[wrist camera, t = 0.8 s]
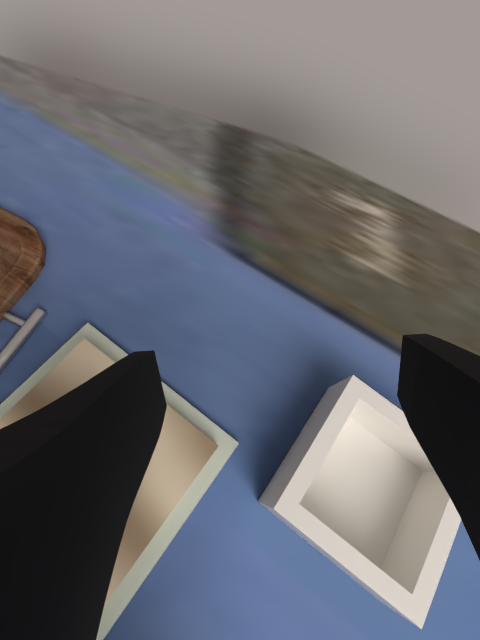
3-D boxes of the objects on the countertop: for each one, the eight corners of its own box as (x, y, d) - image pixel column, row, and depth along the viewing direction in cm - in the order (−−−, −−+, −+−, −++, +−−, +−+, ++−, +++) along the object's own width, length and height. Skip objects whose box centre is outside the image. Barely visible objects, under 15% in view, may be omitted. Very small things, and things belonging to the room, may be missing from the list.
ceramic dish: (379, 600, 21) (421, 629, 17) (257, 501, 22) (273, 508, 18) (434, 467, 24) (479, 468, 21) (328, 387, 25) (353, 374, 22)
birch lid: (85, 629, 18) (46, 699, 13) (-66, 489, 19) (-159, 499, 14) (217, 446, 22) (229, 441, 17) (87, 341, 23) (60, 306, 18)
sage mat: (87, 660, 18) (85, 665, 17) (-91, 494, 19) (-96, 494, 19) (238, 443, 23) (239, 443, 23) (89, 324, 24) (87, 322, 24)
